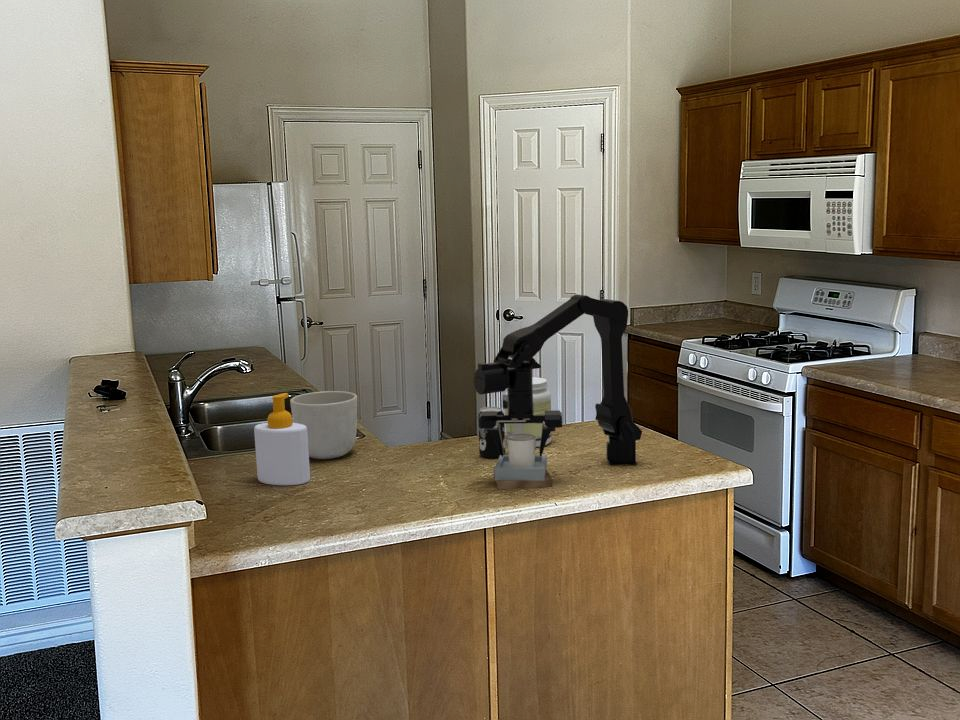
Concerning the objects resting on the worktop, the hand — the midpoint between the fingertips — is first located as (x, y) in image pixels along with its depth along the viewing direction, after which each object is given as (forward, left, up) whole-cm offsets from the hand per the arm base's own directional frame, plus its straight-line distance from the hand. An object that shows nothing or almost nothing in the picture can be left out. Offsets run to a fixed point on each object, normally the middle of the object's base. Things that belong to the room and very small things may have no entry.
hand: (521, 456), depth 203 cm
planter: (+51, -23, -6) cm, 56 cm away
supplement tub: (-1, -33, -6) cm, 34 cm away
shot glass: (0, 0, -3) cm, 3 cm away
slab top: (0, 0, -4) cm, 4 cm away
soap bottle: (+56, -1, -6) cm, 56 cm away
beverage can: (+8, -21, -6) cm, 23 cm away
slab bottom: (0, 0, -6) cm, 6 cm away
